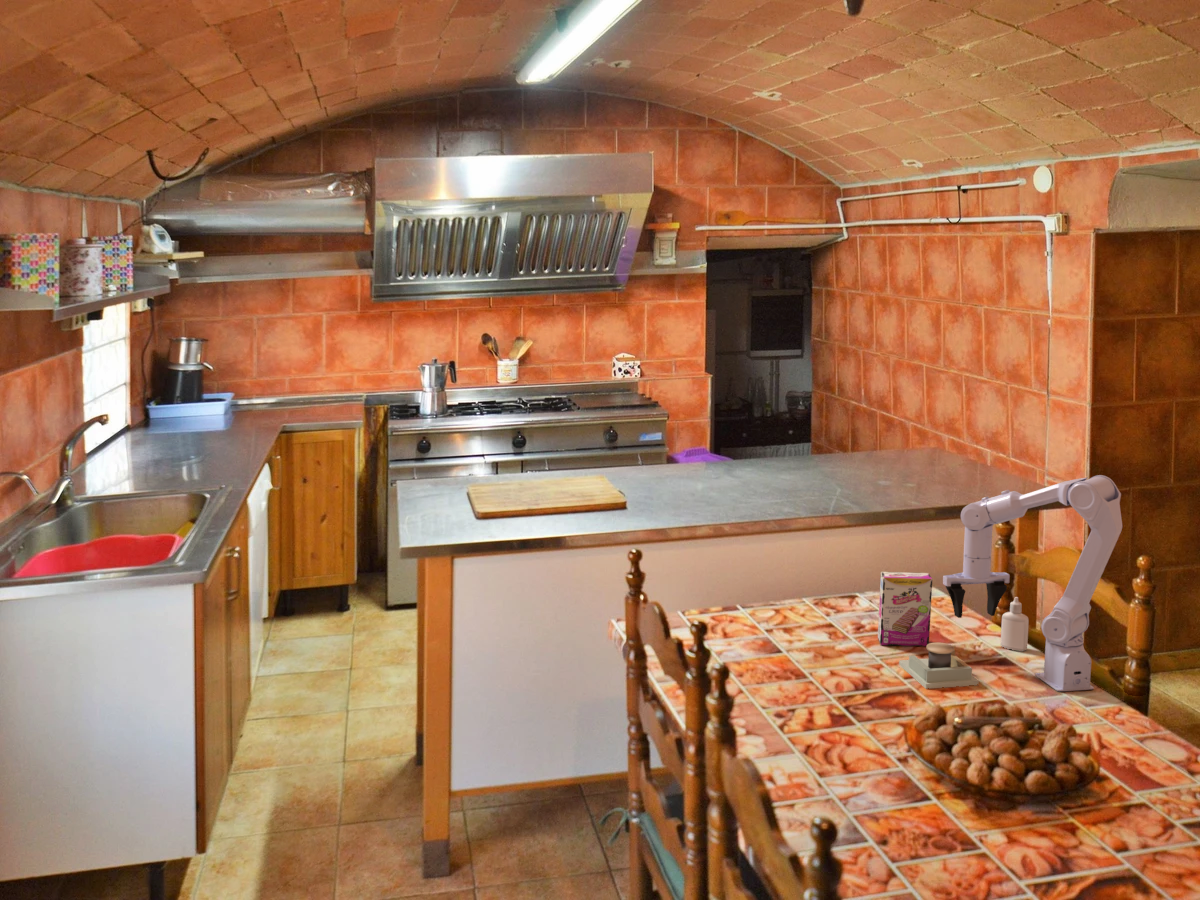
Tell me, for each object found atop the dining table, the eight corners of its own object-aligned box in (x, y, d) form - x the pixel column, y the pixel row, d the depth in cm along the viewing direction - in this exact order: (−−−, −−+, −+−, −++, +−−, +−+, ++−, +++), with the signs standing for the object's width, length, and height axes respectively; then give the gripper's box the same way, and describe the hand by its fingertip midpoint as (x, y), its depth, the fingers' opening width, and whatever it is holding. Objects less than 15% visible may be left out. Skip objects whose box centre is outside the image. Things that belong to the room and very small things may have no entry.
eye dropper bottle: (1014, 653, 253) (1017, 602, 251) (997, 645, 258) (999, 595, 256) (1030, 650, 254) (1033, 599, 252) (1012, 643, 260) (1015, 592, 257)
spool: (957, 675, 237) (958, 650, 236) (932, 677, 237) (933, 652, 236) (945, 666, 243) (946, 641, 242) (921, 667, 242) (922, 643, 241)
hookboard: (978, 685, 235) (979, 664, 234) (925, 688, 233) (926, 668, 232) (948, 661, 248) (949, 641, 248) (899, 664, 247) (899, 645, 246)
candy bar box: (880, 646, 259) (882, 577, 256) (877, 638, 263) (879, 571, 261) (930, 647, 257) (933, 578, 255) (926, 639, 262) (929, 571, 259)
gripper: (999, 549, 251) (996, 608, 253) (937, 552, 249) (935, 611, 251) (1015, 557, 244) (1012, 617, 246) (952, 560, 242) (949, 621, 245)
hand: (974, 615), depth 248 cm, fingers open, 7 cm apart
